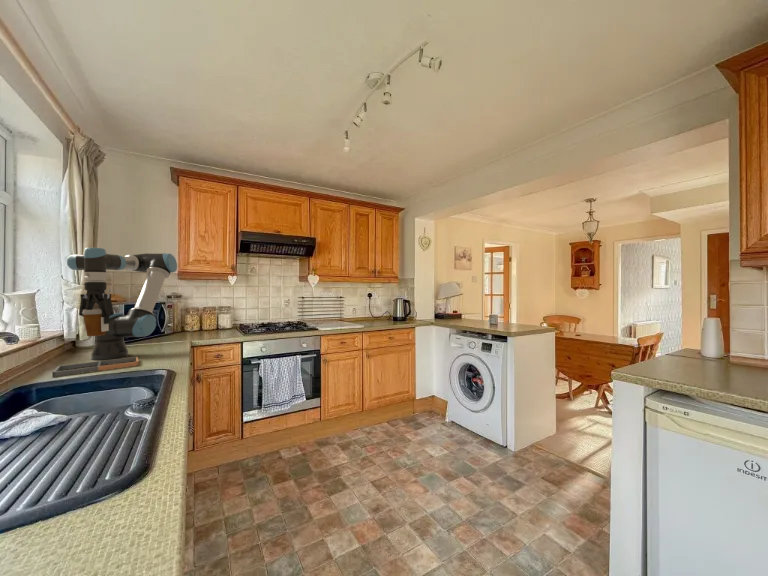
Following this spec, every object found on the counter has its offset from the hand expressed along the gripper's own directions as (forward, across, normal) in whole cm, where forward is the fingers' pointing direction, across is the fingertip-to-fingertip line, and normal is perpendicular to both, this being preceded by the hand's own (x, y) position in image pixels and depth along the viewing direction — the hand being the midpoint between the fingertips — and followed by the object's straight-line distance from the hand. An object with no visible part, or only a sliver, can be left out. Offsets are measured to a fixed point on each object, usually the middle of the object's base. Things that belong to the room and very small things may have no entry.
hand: (96, 331), depth 147 cm
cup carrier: (+17, +1, 0) cm, 17 cm away
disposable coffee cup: (+2, 0, 0) cm, 2 cm away
